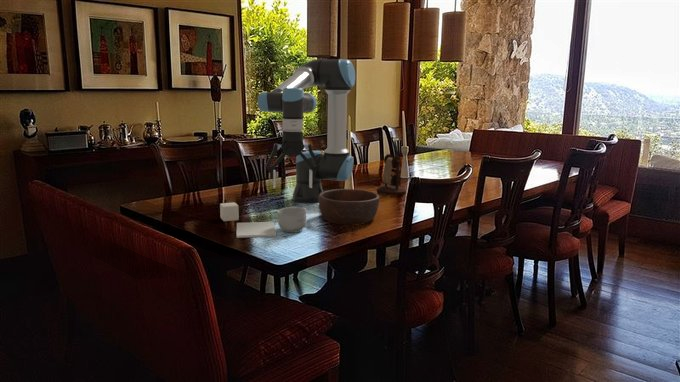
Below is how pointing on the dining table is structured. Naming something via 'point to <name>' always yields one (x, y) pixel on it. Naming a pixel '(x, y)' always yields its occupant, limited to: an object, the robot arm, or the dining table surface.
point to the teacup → (292, 219)
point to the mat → (255, 229)
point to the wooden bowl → (348, 206)
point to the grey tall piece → (391, 176)
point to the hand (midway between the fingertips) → (292, 187)
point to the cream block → (229, 211)
